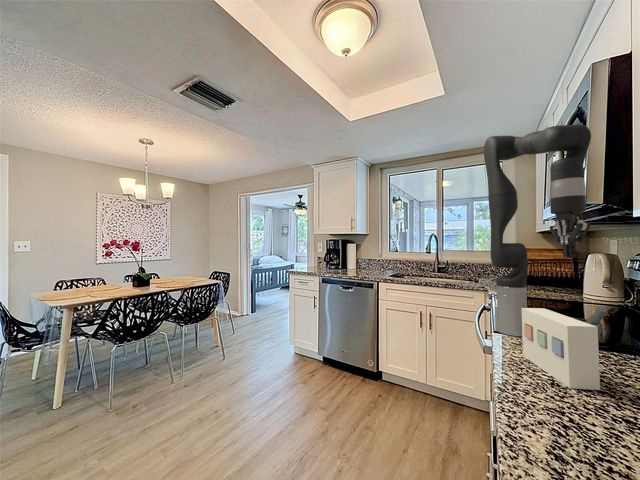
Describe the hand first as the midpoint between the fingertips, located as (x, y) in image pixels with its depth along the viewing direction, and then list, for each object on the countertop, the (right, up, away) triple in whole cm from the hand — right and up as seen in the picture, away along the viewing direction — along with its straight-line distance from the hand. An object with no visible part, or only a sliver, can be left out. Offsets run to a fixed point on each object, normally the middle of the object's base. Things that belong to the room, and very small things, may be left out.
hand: (569, 257), depth 78 cm
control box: (-9, -29, -6) cm, 31 cm away
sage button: (-11, -22, -6) cm, 26 cm away
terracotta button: (-10, -23, 0) cm, 25 cm away
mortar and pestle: (+18, -29, +14) cm, 37 cm away
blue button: (-12, -22, -12) cm, 28 cm away
